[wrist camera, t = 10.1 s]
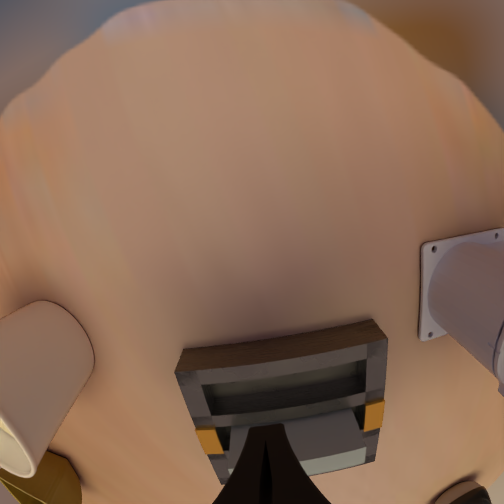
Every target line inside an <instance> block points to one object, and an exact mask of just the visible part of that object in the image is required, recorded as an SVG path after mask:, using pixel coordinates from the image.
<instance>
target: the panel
mask: <svg viewBox="0 0 504 504" xmlns="http://www.w3.org/2000/svg"><path fill="white" fill-rule="evenodd" d="M279 423H282V424H284V426H285V431H286V435H287V438H288V440H289V443H290V445H291V447H292V449H293V451H294V453H295V455H296V457H297V459H298V461H299V462H300V464H301V466H302V467H303V469H304V470H305V472H306V473H307V475H314V474H319V473H324V472H329V471H334V470H338V469H343V468H347V467H351V466H355V465H359V464H363V463H364V462H365V454H366V445H365V442H364V439H363V437H362V434H361V432H360V429H359V426H358V424H357V421H356V419H355V416H354V414H353V411H352V409H351V407H350V408H346V409H341V410H337V411H332V412H327V413H322V414H317V415H312V416H306V417H300V418H294V419H288V420H281V421H274V422H266V423H258V424H248V425H237V426H231V436H230V448H229V460H228V471H229V473H230V475H231V473H232V472H233V470H234V468H235V466H236V463H237V461H238V459H239V457H240V454H241V452H242V449H243V447H244V444H245V441H246V438H247V434H248V430H249V428H250V427H255V426H264V425H271V424H279Z"/></svg>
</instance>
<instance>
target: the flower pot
mask: <svg viewBox="0 0 504 504" xmlns="http://www.w3.org/2000/svg"><path fill="white" fill-rule="evenodd" d="M0 481H1V483H2V484H3V485H4V486H5V487H6V489H7V490H8V491H9V492H10V493H11V494H12V495H13V497H14V498H15V499H16V500H17V501H18V502H19V503H20V504H82V492H81V486H80V481H79V478H78V476H77V475H76V473H75V472H74V470H73V468H72V467H71V465H70V463H69V461H68V460H67V459H65V458H63V457H61V456H58V455H55V454H53V453H51V452H48V451H46V452H45V454H44V456H43V458H42V459H41V461H40V463H39V465H38V467H37V471H36V473H35V475H34V476H33V477H31V478H23V477H19V476H17V475H14V474H12V473H10V472H8V471H7V470H5V469H3V468H1V469H0Z"/></svg>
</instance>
